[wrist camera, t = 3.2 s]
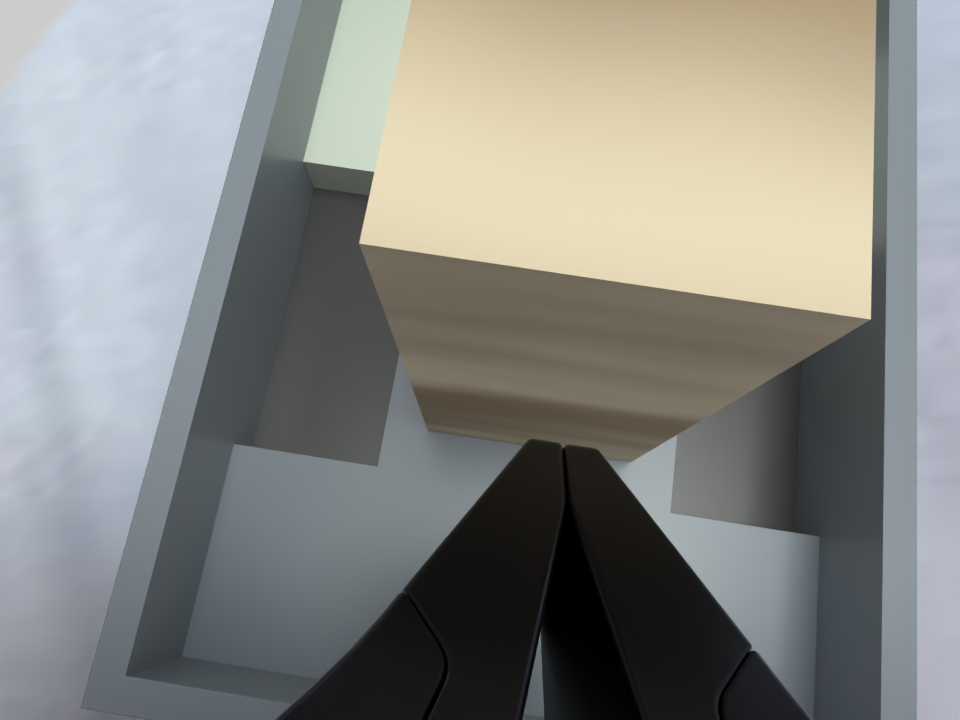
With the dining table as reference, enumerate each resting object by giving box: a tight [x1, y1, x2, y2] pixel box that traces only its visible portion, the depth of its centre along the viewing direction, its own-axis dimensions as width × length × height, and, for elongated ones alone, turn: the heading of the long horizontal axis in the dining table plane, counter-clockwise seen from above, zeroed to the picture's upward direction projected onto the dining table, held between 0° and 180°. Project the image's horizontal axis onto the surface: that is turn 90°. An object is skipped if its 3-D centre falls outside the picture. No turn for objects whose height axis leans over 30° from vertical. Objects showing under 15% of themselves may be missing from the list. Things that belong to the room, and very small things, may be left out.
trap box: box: [81, 0, 917, 720], centre depth 16 cm, size 18×14×4 cm
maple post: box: [359, 0, 877, 462], centre depth 12 cm, size 4×4×10 cm
